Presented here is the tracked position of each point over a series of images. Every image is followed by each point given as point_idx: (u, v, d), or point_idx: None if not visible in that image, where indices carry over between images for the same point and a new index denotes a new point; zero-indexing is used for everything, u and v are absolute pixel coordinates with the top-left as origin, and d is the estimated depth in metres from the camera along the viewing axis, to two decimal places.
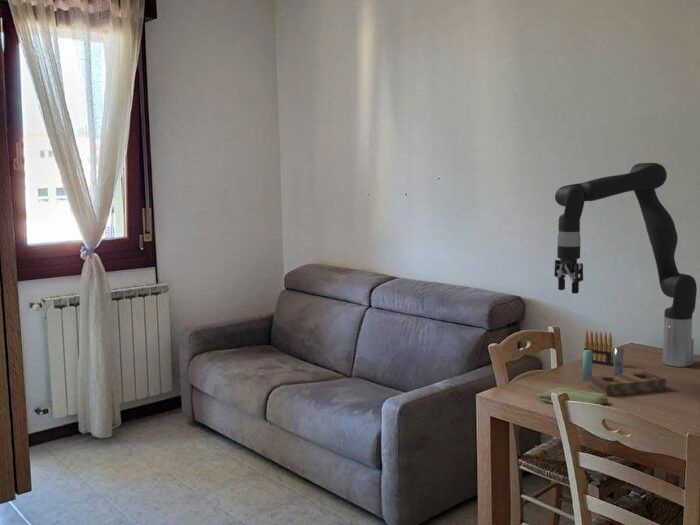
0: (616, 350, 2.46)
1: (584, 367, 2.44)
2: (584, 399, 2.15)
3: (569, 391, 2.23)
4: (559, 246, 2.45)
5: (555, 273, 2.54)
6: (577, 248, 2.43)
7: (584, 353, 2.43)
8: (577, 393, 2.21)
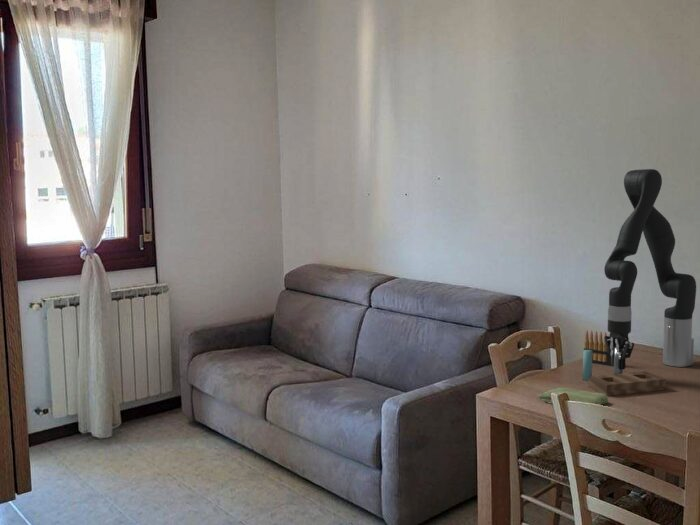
0: (616, 350, 2.46)
1: (584, 367, 2.44)
2: (584, 399, 2.15)
3: (569, 391, 2.23)
4: (610, 320, 2.44)
5: (608, 349, 2.51)
6: (628, 323, 2.42)
7: (584, 353, 2.43)
8: (577, 393, 2.21)
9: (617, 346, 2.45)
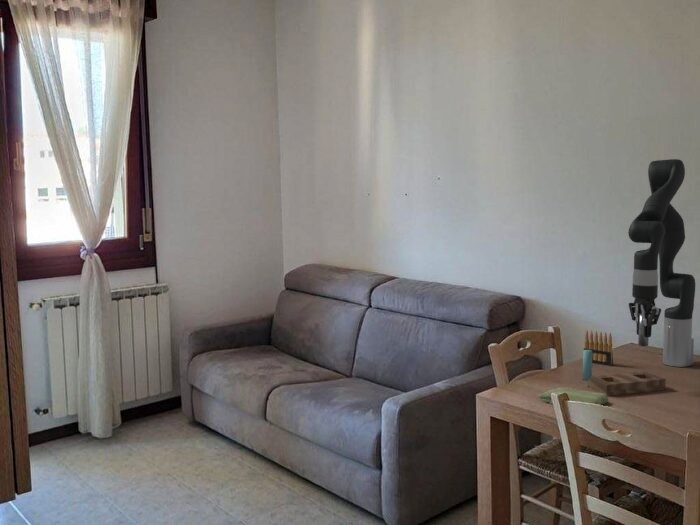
0: (641, 317, 2.32)
1: (584, 367, 2.44)
2: (585, 399, 2.15)
3: (569, 391, 2.24)
4: (635, 285, 2.31)
5: (632, 317, 2.37)
6: (655, 287, 2.29)
7: (584, 353, 2.43)
8: (577, 393, 2.21)
9: (643, 312, 2.31)
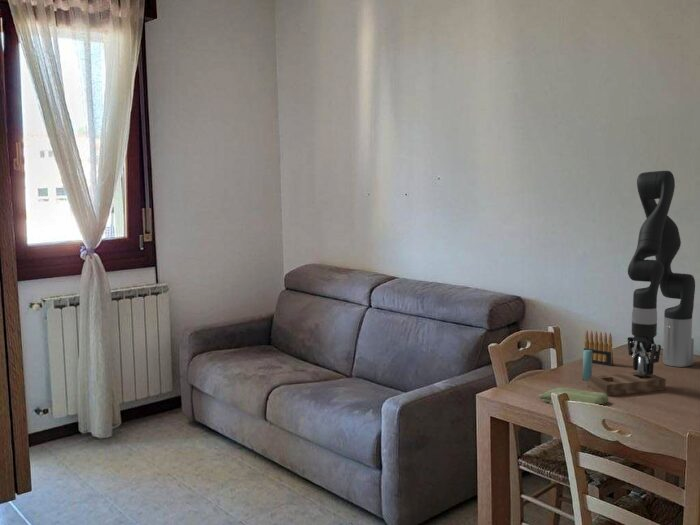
0: (640, 359, 2.33)
1: (584, 367, 2.44)
2: (586, 399, 2.16)
3: (569, 391, 2.24)
4: (634, 323, 2.32)
5: (629, 351, 2.39)
6: (654, 326, 2.30)
7: (584, 353, 2.43)
8: (578, 393, 2.21)
9: (643, 350, 2.31)
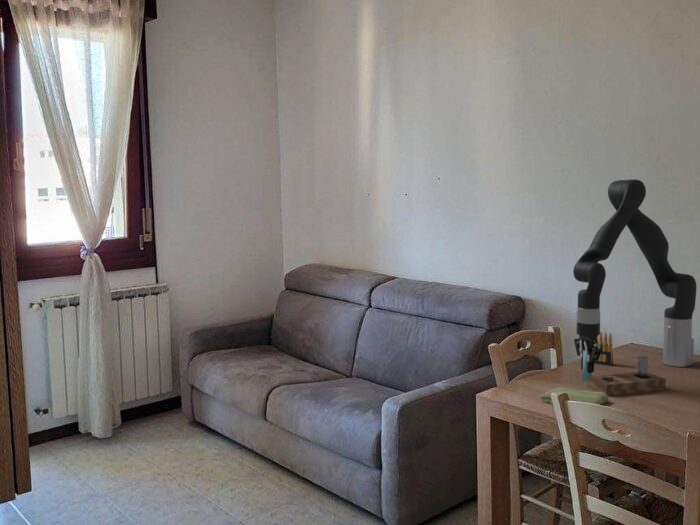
0: (640, 359, 2.33)
1: (584, 367, 2.44)
2: (587, 398, 2.16)
3: (569, 391, 2.24)
4: (578, 322, 2.41)
5: (577, 352, 2.48)
6: (597, 325, 2.40)
7: (584, 353, 2.43)
8: (578, 393, 2.22)
9: (586, 349, 2.42)
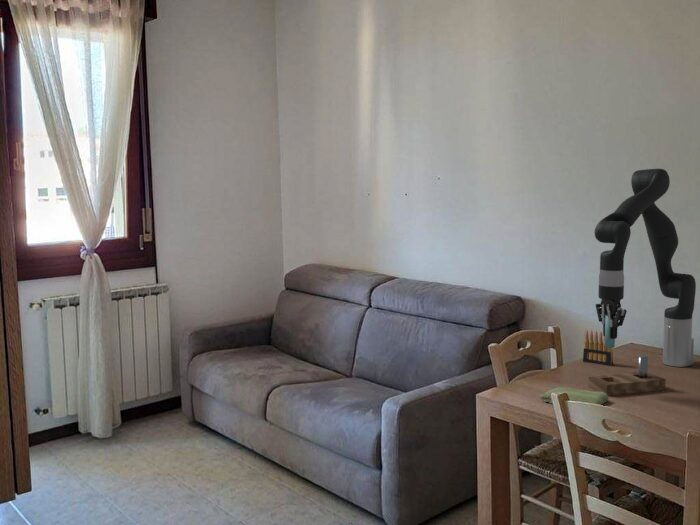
0: (640, 359, 2.33)
1: (606, 333, 2.30)
2: (587, 398, 2.16)
3: (569, 391, 2.24)
4: (601, 286, 2.28)
5: (599, 318, 2.34)
6: (620, 288, 2.26)
7: (606, 318, 2.29)
8: (578, 392, 2.22)
9: (608, 313, 2.28)
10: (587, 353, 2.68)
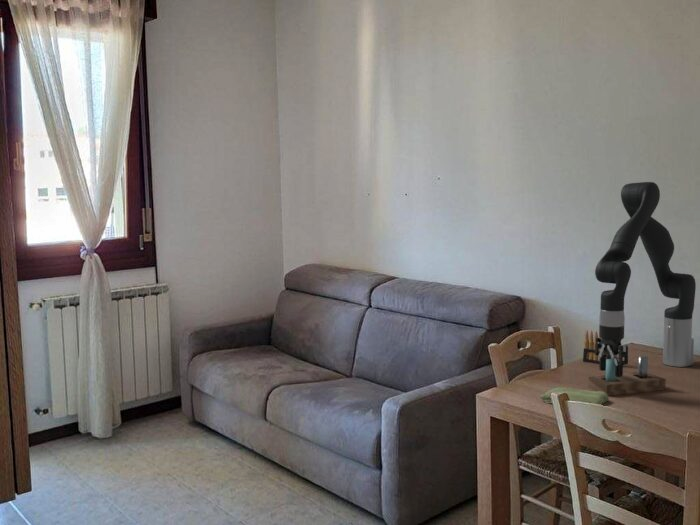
0: (640, 359, 2.33)
1: (607, 377, 2.31)
2: (588, 398, 2.16)
3: (569, 391, 2.24)
4: (601, 325, 2.29)
5: (596, 352, 2.37)
6: (621, 328, 2.27)
7: (607, 362, 2.31)
8: (578, 392, 2.22)
9: (611, 353, 2.28)
10: (587, 353, 2.68)
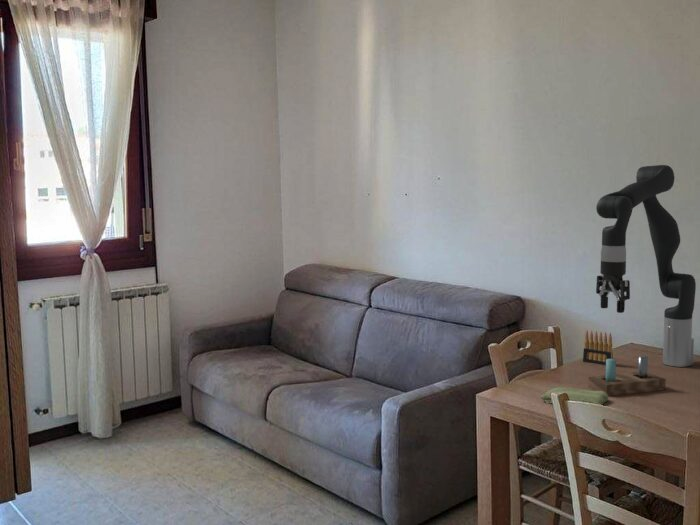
0: (640, 359, 2.33)
1: (607, 377, 2.31)
2: (589, 398, 2.16)
3: (569, 390, 2.24)
4: (603, 261, 2.26)
5: (597, 290, 2.35)
6: (623, 263, 2.25)
7: (607, 362, 2.31)
8: (578, 392, 2.22)
9: (612, 288, 2.26)
10: (587, 353, 2.68)
